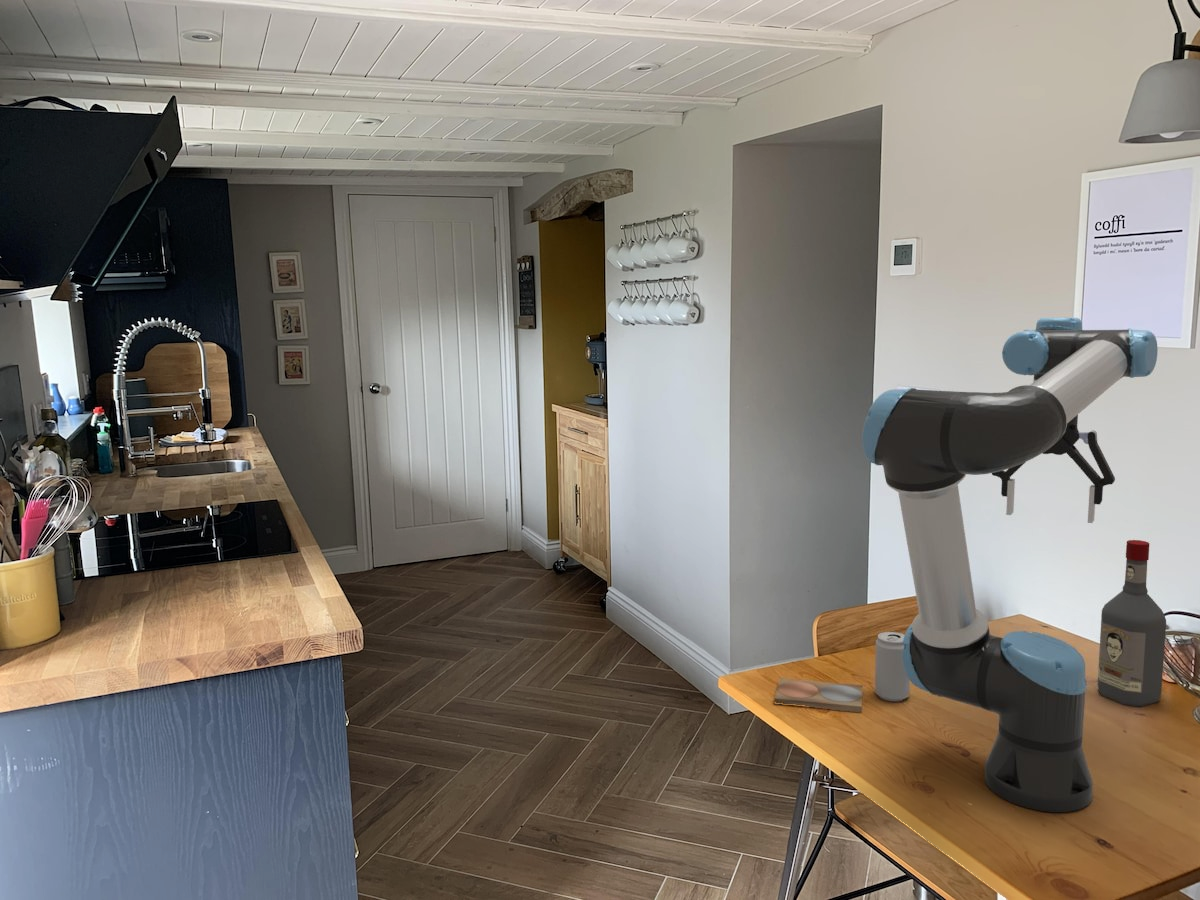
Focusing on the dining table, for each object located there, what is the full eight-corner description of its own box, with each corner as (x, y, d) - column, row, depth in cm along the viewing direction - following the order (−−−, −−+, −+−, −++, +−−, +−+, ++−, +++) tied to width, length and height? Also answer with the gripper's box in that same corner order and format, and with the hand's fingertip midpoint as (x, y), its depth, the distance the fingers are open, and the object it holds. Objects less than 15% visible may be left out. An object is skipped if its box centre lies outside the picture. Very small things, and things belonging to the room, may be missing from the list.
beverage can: (912, 693, 177) (914, 634, 175) (904, 705, 172) (906, 644, 170) (879, 686, 181) (881, 628, 179) (870, 698, 175) (871, 639, 173)
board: (861, 712, 169) (861, 706, 169) (774, 704, 174) (774, 697, 174) (862, 691, 179) (862, 684, 178) (779, 683, 183) (779, 677, 183)
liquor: (1123, 682, 179) (1132, 534, 175) (1167, 700, 171) (1178, 544, 166) (1090, 691, 176) (1098, 539, 171) (1133, 709, 167) (1143, 551, 163)
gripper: (1136, 403, 162) (1128, 520, 165) (986, 399, 176) (982, 507, 179) (1132, 407, 156) (1124, 529, 159) (977, 402, 170) (973, 514, 173)
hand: (1049, 517), depth 169 cm, fingers open, 13 cm apart
